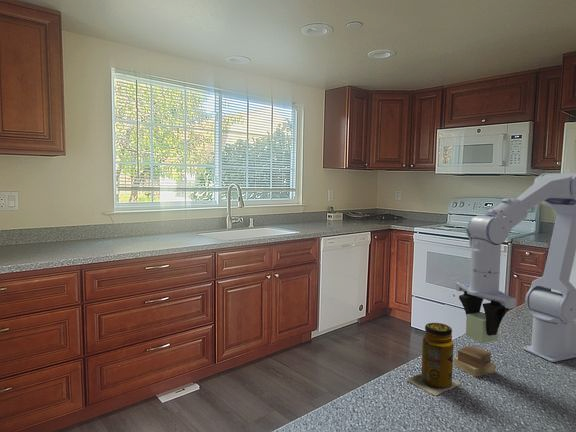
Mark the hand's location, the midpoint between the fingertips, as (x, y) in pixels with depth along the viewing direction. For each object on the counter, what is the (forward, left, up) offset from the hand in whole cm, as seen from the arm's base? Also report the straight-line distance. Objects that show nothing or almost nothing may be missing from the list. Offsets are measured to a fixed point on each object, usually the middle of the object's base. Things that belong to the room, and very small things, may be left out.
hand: (482, 330), depth 87 cm
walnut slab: (+1, -1, -7) cm, 7 cm away
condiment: (+14, +1, -9) cm, 17 cm away
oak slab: (+1, -1, -10) cm, 10 cm away
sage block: (0, 0, -2) cm, 2 cm away
